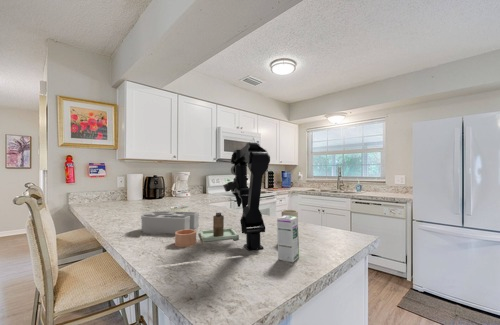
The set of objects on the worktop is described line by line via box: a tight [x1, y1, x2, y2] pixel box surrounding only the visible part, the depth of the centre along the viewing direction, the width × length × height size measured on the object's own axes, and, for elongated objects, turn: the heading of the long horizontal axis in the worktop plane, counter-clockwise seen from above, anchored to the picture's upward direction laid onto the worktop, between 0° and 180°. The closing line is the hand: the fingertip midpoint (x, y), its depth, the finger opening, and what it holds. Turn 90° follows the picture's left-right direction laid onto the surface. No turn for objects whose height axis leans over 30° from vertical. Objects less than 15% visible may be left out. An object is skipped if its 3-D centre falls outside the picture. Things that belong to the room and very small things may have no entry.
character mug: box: [281, 209, 299, 218], centre depth 101 cm, size 11×7×13 cm, turn 164°
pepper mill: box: [212, 212, 225, 237], centre depth 107 cm, size 5×5×10 cm
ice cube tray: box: [140, 210, 200, 235], centre depth 121 cm, size 17×28×9 cm, turn 78°
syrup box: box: [276, 215, 300, 263], centre depth 81 cm, size 6×6×14 cm
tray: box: [199, 227, 240, 243], centre depth 107 cm, size 14×16×2 cm
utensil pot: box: [174, 229, 197, 248], centre depth 96 cm, size 9×9×6 cm
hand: (241, 208), depth 110 cm, fingers open, 9 cm apart
